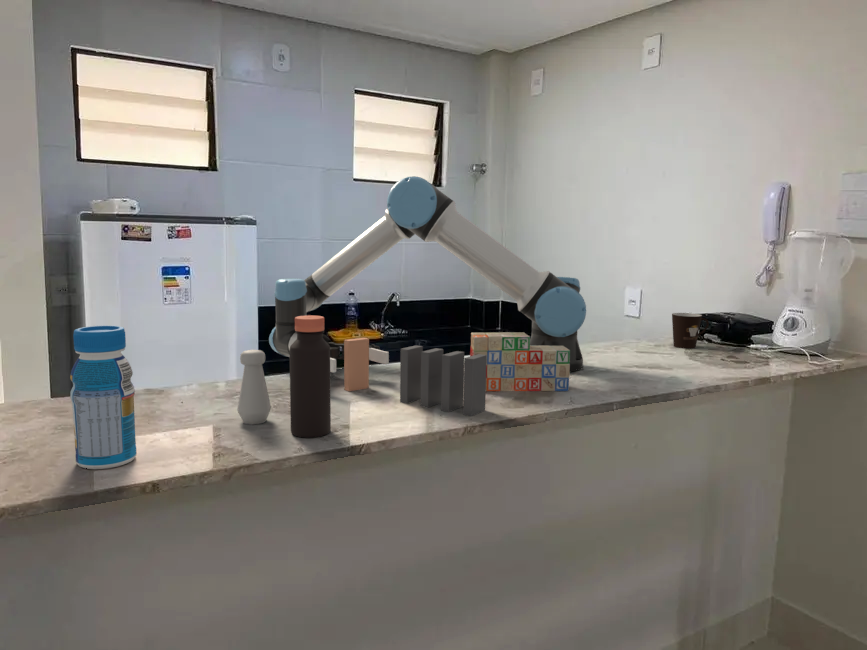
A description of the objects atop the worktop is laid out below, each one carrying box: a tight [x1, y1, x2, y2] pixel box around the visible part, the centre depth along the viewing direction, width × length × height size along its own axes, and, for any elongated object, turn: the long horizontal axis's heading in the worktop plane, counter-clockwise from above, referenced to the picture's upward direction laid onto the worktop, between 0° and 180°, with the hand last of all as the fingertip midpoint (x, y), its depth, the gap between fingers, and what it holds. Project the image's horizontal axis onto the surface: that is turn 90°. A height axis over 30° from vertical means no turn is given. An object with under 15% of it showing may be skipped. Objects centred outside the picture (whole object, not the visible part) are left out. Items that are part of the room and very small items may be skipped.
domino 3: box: [440, 350, 465, 413], centre depth 131 cm, size 2×5×11 cm, turn 146°
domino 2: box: [420, 347, 444, 408], centre depth 133 cm, size 2×5×11 cm, turn 145°
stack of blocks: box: [469, 331, 570, 392], centre depth 148 cm, size 21×6×12 cm, turn 93°
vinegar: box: [289, 314, 332, 439], centre depth 113 cm, size 7×7×20 cm
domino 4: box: [462, 354, 487, 417], centre depth 128 cm, size 2×5×11 cm, turn 146°
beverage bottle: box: [69, 325, 138, 470], centre depth 98 cm, size 8×8×20 cm
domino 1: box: [399, 345, 424, 404], centre depth 136 cm, size 2×5×11 cm, turn 146°
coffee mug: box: [671, 312, 710, 350], centre depth 204 cm, size 12×9×10 cm
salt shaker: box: [237, 349, 272, 426], centre depth 120 cm, size 6×6×13 cm
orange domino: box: [343, 337, 370, 392], centre depth 145 cm, size 2×5×11 cm, turn 131°
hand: (361, 362), depth 143 cm, fingers open, 13 cm apart
